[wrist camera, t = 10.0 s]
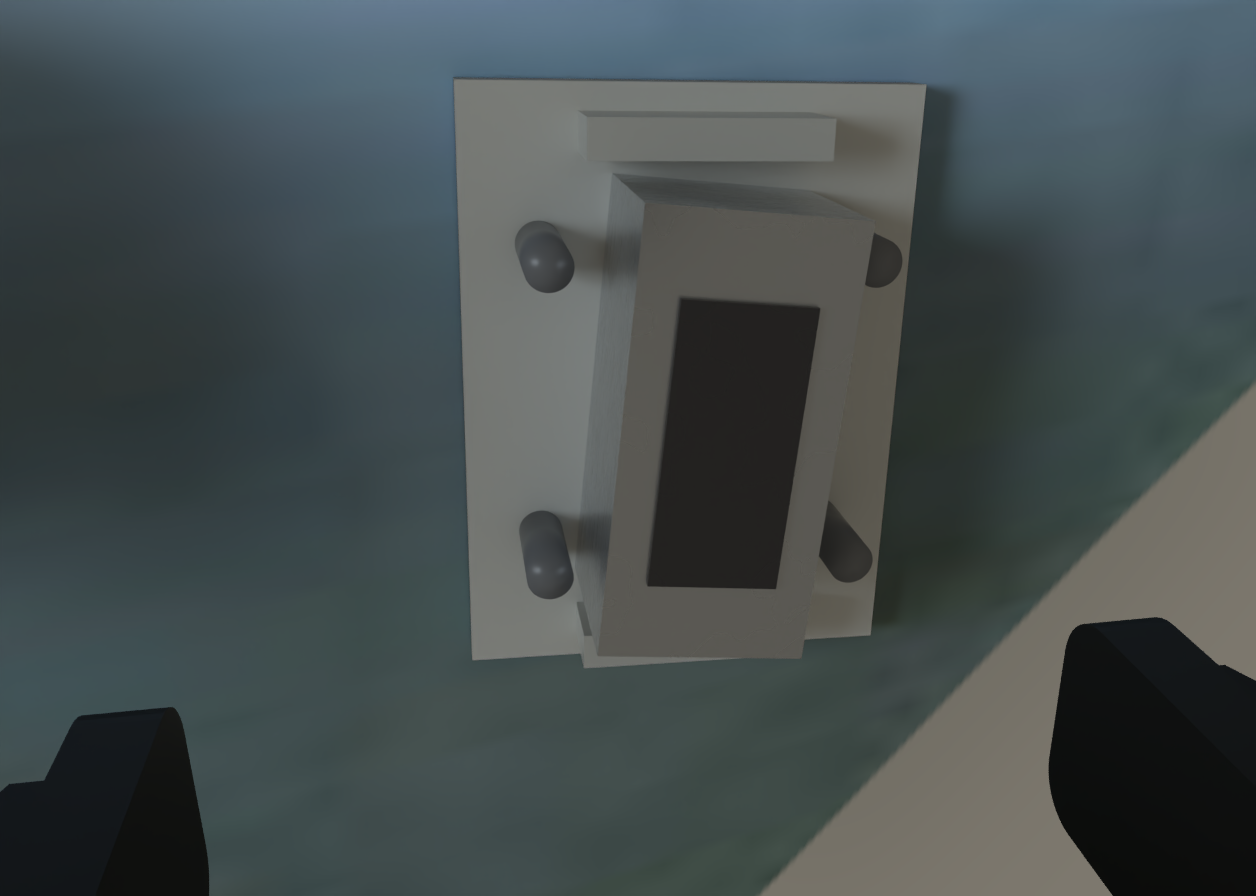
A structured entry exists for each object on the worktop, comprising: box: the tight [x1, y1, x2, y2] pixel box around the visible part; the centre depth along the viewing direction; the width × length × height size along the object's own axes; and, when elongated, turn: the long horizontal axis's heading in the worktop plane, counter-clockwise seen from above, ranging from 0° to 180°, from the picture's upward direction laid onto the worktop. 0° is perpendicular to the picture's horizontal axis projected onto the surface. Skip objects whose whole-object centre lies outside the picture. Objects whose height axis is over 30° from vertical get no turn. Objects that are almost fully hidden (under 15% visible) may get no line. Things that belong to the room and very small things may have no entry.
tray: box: [453, 77, 926, 668], centre depth 31 cm, size 16×12×4 cm
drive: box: [575, 173, 876, 659], centre depth 29 cm, size 11×5×5 cm, turn 174°
